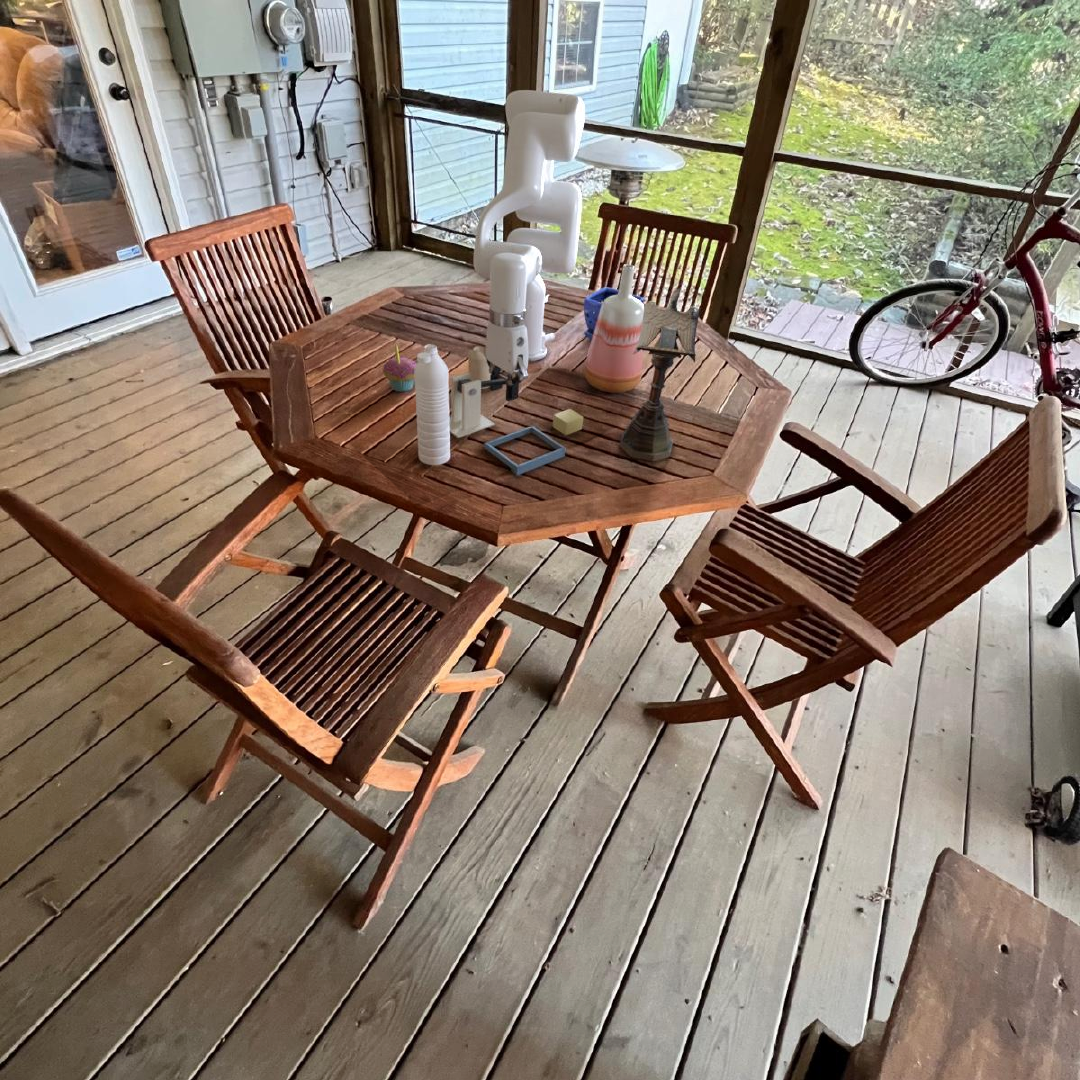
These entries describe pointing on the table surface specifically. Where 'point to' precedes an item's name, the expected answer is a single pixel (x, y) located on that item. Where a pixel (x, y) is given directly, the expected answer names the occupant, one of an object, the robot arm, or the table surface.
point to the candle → (478, 365)
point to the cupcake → (400, 372)
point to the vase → (617, 341)
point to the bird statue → (659, 376)
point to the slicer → (466, 407)
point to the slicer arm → (485, 382)
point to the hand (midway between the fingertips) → (504, 393)
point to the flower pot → (598, 307)
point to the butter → (567, 421)
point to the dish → (532, 463)
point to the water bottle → (432, 407)
